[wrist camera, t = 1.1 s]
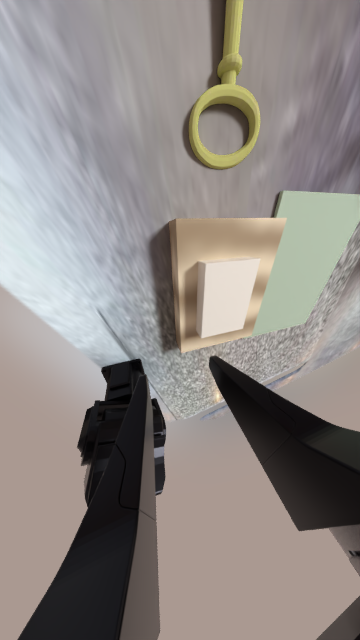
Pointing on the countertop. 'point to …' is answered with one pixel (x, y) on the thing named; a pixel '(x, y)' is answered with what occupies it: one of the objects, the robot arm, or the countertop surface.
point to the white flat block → (224, 294)
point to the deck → (210, 244)
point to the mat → (305, 255)
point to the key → (227, 95)
